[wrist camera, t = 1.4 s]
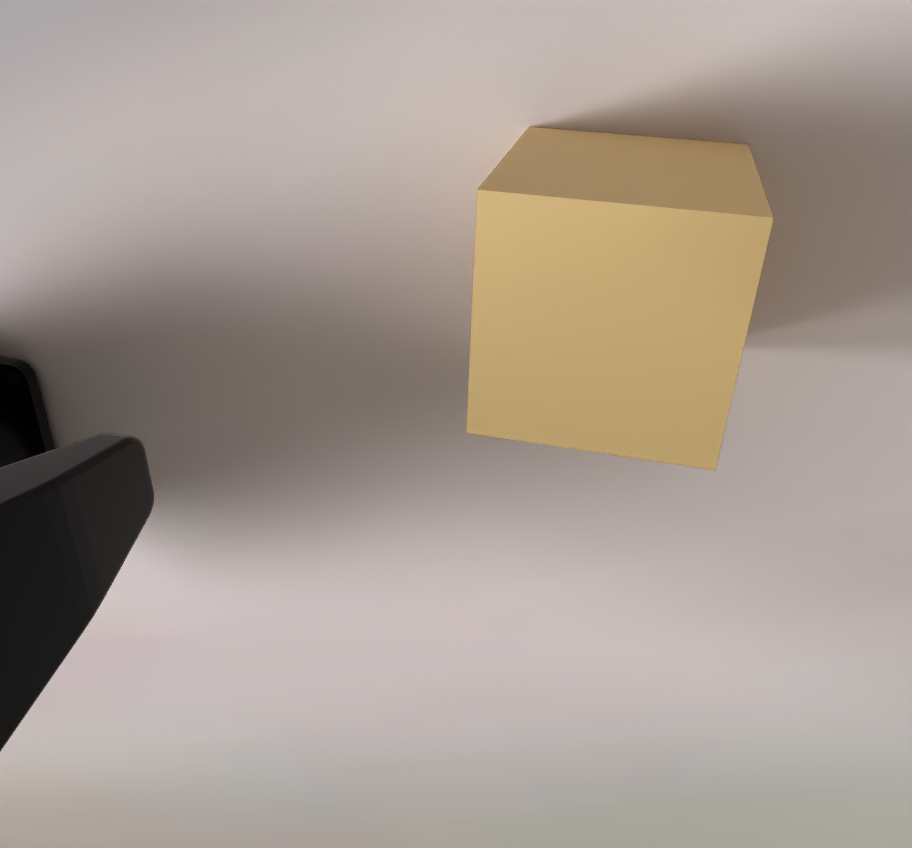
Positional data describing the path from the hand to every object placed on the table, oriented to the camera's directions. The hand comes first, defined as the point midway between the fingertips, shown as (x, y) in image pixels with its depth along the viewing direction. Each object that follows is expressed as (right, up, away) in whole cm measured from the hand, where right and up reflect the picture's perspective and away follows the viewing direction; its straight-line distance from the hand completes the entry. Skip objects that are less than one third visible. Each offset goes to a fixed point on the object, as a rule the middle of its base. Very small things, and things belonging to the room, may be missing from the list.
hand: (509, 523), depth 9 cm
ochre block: (+4, +6, +11) cm, 13 cm away
